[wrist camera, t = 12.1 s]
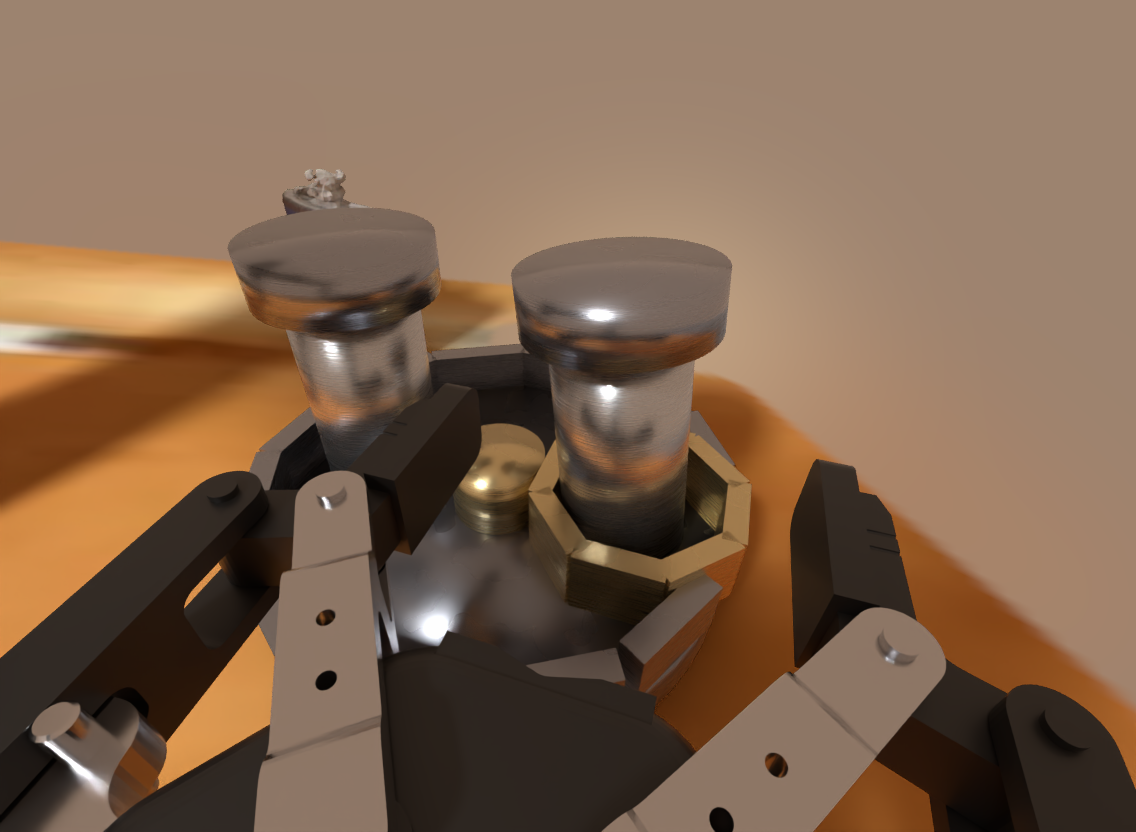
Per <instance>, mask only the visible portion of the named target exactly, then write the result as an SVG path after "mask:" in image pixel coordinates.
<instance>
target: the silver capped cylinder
mask: <svg viewBox="0 0 1136 832" xmlns="http://www.w3.org/2000/svg"><path fill="white" fill-rule="evenodd" d="M731 271H732V264H731V261H730V260H729V259H728V257H727V256H725V255H724V254H723V253H721V252H719V251H717V250H715V249H713V248H710V247H708V246H705V245H701V244H698V243H693V242H688V241H683V240H676V239H668V238H655V237H616V238H602V239H594V240H586V241H579V242H573V243H568V244H564V245H560V246H556V247H552V248H549V249H546V250H543V251H540V252H537V253H535V254H533V255H531V256H529V257H527V258H525V259H524V260H522V261H520V262H519V263H518V264H517V265H516V266H515V267H514V269H513V270H512V273H511V277H512V285H513V293H514V301H515V309H516V318H517V326H518V334H519V340H520V342H521V345H522V346H523V347H524V349H525V350H526V351H527V352H528V353H530V354H531V355H532V356H534V357H536V358H537V359H539V360H541V361H543V362H546V363H548V364H549V372H550V382H551V393H552V404H553V414H554V425H555V435H556V446H557V457H558V467H559V478H560V488H561V499H562V505H563V507H564V508H565V510H566V511H567V513H568V514H569V516H570V517H571V519H572V520H573V522H574V523H575V524H576V526H577V527H578V529H579V530H580V532H581V533H582V535H583V536H584V538H585V539H586V540H589V541H593V542H597V543H600V544H604V545H608V546H612V547H616V548H619V549H623V550H627V551H631V552H634V553H638V554H642V555H646V556H649V557H653V558H657V559H664V558H666V557H668V556H671V555H673V554H675V553H676V552H677V551H678V549H679V547H680V545H681V542H682V536H683V523H684V508H685V493H686V479H687V464H688V449H689V434H690V420H691V405H692V390H693V375H694V361H695V360H696V359H698V358H700V357H703V356H704V355H706V354H708V353H709V352H711V351H712V350H713V349H715V348H716V347H717V346H718V345H719V344H720V343H721V341H722V340H723V338H724V335H725V332H726V322H727V311H728V302H729V291H730V281H731Z"/></svg>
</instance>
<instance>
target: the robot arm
mask: <svg viewBox="0 0 1136 832" xmlns="http://www.w3.org/2000/svg"><path fill="white" fill-rule="evenodd" d="M481 443H482V432H481V420H480V409H479V397H478V392H477V390H476V389H474V388H469V387H465V386H460V385H455V384H450V383H446V384H444V385H443V386H442V387H441V388H440V389H439V390H438V391H437V392H436V393H435V394H434V396H433V397H432V398H431V399H430V400H429V399H425V398H423V399H421V400H419V401H417V402H415V403H414V404H412V405H410V406H408V407H406V408H405V409H404V410H403V411H402V412H401V413H400V414H399V415H398V416H397V417H396V418H395V419H394V420H393V423H390V425H389V426H388V427H387V428H386V429H385V430H384V431H383V434H380V435H379V436H378V437H377V438H376V439H375V440H374V441H373V442H372V443H371V444H370V445H369V447H368V448H367V449H366V450H365V451H364V452H363V453H362V454H361V455H360V456H359V457H358V458H357V459H356V460H355V461H354V462H353V463H352V464H351V465H350V466H349V468H348V469H347V470H346V471H333V472H328V473H324V474H322V475H319V476H317V477H315V478H313V479H311V480H310V481H308V482H307V483H306V484H305V485H304V486H303V487H302V488H301V489H300V490H264V488H263V486H262V483H261V481H260V479H259V478H258V477H257V476H256V475H255V474H253V473H250V472H246V471H232V472H226V473H222V474H219V475H216V476H214V477H211V478H209V479H208V480H206V481H204V482H202V483H201V484H200V485H198V486H197V487H196V488H195V489H193V490H192V491H191V492H190V493H189V494H188V495H187V496H185V497H184V498H183V499H182V500H181V501H180V502H179V503H177V504H176V505H175V506H174V507H173V508H172V509H171V510H169V511H168V512H167V513H166V514H165V515H164V516H162V517H161V518H160V519H159V520H158V521H157V522H156V523H154V524H153V525H152V526H151V527H150V528H149V529H148V530H146V531H145V532H144V533H143V534H142V535H141V536H140V537H138V538H137V539H136V540H135V541H134V542H133V543H132V544H130V545H129V546H128V547H127V548H126V549H125V550H124V551H122V552H121V553H120V554H119V555H118V556H117V557H116V558H114V559H113V560H112V561H111V562H110V563H109V564H108V565H106V566H105V567H104V568H103V569H102V570H101V571H100V572H98V573H97V574H96V575H95V576H94V577H93V578H92V579H90V580H89V581H88V582H87V583H86V584H85V585H84V586H82V587H81V588H80V589H79V590H78V591H77V592H76V593H74V594H73V595H72V596H71V597H70V598H69V599H68V600H66V601H65V602H64V603H63V604H62V605H61V606H60V607H58V608H57V609H56V610H55V611H54V612H53V613H52V614H50V615H49V616H48V617H47V618H46V619H45V620H44V621H42V622H41V623H40V624H39V625H38V626H37V627H36V628H34V629H33V630H32V631H31V632H30V633H29V634H28V635H26V636H25V637H24V638H23V639H22V640H21V641H20V642H18V643H17V644H16V645H15V646H14V647H13V648H12V649H10V650H9V651H8V652H7V653H6V654H5V655H4V656H2V657H1V658H0V832H813V831H814V830H815V829H816V828H817V827H818V825H819V824H820V823H821V822H822V821H823V819H824V818H825V817H826V816H827V815H828V814H829V812H830V811H831V810H832V809H833V808H834V806H835V805H836V804H837V803H838V802H839V801H840V799H841V798H842V797H843V796H844V795H845V793H846V792H847V791H848V790H849V789H850V787H851V786H852V785H853V784H854V783H855V782H856V780H857V779H858V778H859V777H860V776H861V774H862V773H863V772H864V771H865V770H866V768H867V767H868V766H869V765H870V764H871V763H872V761H873V760H874V759H875V760H877V761H878V762H880V763H881V764H883V765H884V766H886V767H888V768H889V769H891V770H892V771H894V772H895V773H897V774H899V775H900V776H902V777H903V778H905V779H906V780H908V781H910V782H911V783H913V784H914V785H916V786H917V787H919V788H921V789H922V790H924V791H925V792H927V793H928V794H929V797H930V804H931V811H932V818H933V825H934V832H1136V789H1135V787H1134V784H1133V782H1132V779H1131V777H1130V775H1129V772H1128V770H1127V767H1126V765H1125V762H1124V760H1123V758H1122V755H1121V753H1120V750H1119V748H1118V747H1117V745H1116V743H1115V741H1114V739H1113V738H1112V736H1111V735H1110V733H1109V732H1108V731H1107V730H1106V728H1105V727H1104V726H1103V725H1102V724H1101V723H1100V722H1099V721H1098V720H1097V719H1096V718H1095V717H1094V716H1093V715H1092V714H1091V713H1090V712H1089V711H1088V710H1086V709H1085V708H1084V707H1082V706H1081V705H1080V704H1078V703H1077V702H1076V701H1074V700H1072V699H1071V698H1069V697H1067V696H1066V695H1064V694H1061V693H1059V692H1057V691H1055V690H1052V689H1050V688H1047V687H1043V686H1039V685H1031V684H1029V685H1021V686H1017V687H1015V688H1014V689H1012V690H1011V691H1010V692H1009V693H1008V694H1007V693H1006V692H1004V691H1002V690H1000V689H998V688H996V687H994V686H992V685H990V684H988V683H987V682H985V681H983V680H981V679H979V678H977V677H975V676H973V675H971V674H969V673H968V672H966V671H964V670H962V669H960V668H959V667H957V666H955V665H954V664H953V663H951V662H950V661H948V660H947V659H946V658H945V655H944V653H943V650H942V648H941V646H940V645H939V643H938V641H937V640H936V639H935V638H934V636H933V635H932V634H931V633H930V632H929V631H928V630H927V629H926V628H925V627H924V626H922V625H921V624H920V623H919V622H917V620H916V616H915V612H914V608H913V604H912V600H911V595H910V591H909V587H908V583H907V579H906V575H905V571H904V566H903V562H902V558H901V556H899V554H900V550H899V546H898V541H897V540H896V539H895V537H896V533H895V529H894V525H893V521H892V517H891V514H890V513H889V512H888V510H887V509H886V508H885V506H884V505H883V504H882V502H881V501H880V500H879V499H878V497H877V496H876V495H872V494H867V493H862V492H860V491H859V486H858V481H857V475H856V470H855V468H854V467H853V466H848V465H843V464H838V463H833V462H829V461H824V460H819V459H816V460H815V461H814V463H813V465H812V467H811V469H810V472H809V474H808V477H807V479H806V482H805V484H804V487H803V489H802V492H801V494H800V497H799V499H798V502H797V504H796V507H795V510H794V513H793V517H792V522H791V530H790V545H791V574H792V603H793V632H794V661H795V667H797V668H800V669H799V670H798V671H796V672H795V673H794V674H792V673H791V672H787V673H785V674H783V675H782V676H781V677H779V678H778V679H777V680H776V681H775V682H774V683H773V684H771V685H770V686H769V687H768V688H767V689H766V690H765V691H764V692H763V693H761V694H760V695H759V696H758V697H757V698H756V699H755V700H754V701H753V702H752V703H750V704H749V705H748V706H747V707H746V708H745V709H744V710H743V711H742V712H741V713H739V714H738V715H737V716H736V717H735V718H734V719H733V720H732V721H731V722H729V723H728V724H727V725H726V726H725V727H724V728H723V729H722V730H721V731H720V732H718V733H717V734H716V735H715V736H714V737H713V738H712V739H711V740H710V741H709V742H707V743H706V744H705V745H704V746H703V747H702V748H701V749H700V750H699V751H697V752H696V751H695V750H694V748H693V747H692V746H691V745H690V743H689V742H688V741H687V740H686V739H685V738H684V737H683V736H682V735H681V734H680V733H679V732H678V731H677V730H676V729H675V728H674V727H672V726H671V725H670V724H669V723H667V722H666V721H665V720H664V719H662V718H660V717H659V716H657V715H656V714H654V710H655V704H656V698H657V696H654V695H651V694H647V693H644V692H641V691H638V690H635V689H632V688H628V687H625V686H622V685H619V684H616V683H612V682H609V681H606V680H603V679H589V678H570V677H550V676H543V675H540V674H539V673H537V672H535V671H534V670H532V669H531V668H529V667H527V666H526V665H524V664H523V663H521V662H520V661H518V660H517V659H515V658H514V657H512V656H511V655H509V654H507V653H506V652H504V651H503V650H501V649H500V648H498V647H497V646H495V645H492V644H489V643H485V642H482V641H479V640H476V639H473V638H470V637H466V636H463V635H460V634H457V633H454V632H450V631H447V632H446V634H445V636H444V638H443V639H442V641H441V643H440V645H439V646H425V647H417V648H412V649H408V650H404V651H401V652H400V651H399V646H398V641H397V636H396V629H395V620H394V612H393V604H392V596H391V587H390V579H389V571H388V565H387V560H388V558H389V557H390V556H391V554H392V553H393V551H398V552H401V553H405V554H408V555H412V554H413V552H414V551H415V549H416V548H417V546H418V545H419V543H420V542H421V540H422V539H423V537H424V536H425V535H426V533H427V532H428V530H429V529H430V527H431V526H432V524H433V523H434V521H435V520H436V518H437V517H438V515H439V514H440V512H441V511H442V509H443V508H444V507H445V505H446V504H447V502H448V501H449V499H450V498H451V496H452V495H453V493H454V492H455V490H456V489H457V487H458V486H459V484H460V483H461V481H462V480H463V479H464V477H465V476H466V474H467V473H468V471H469V470H470V468H471V467H472V465H473V464H474V462H475V461H476V459H477V457H478V455H479V452H480V448H481ZM218 562H219V564H220V566H221V568H222V569H221V570H220V571H219V572H218V573H217V574H216V575H215V576H214V577H213V578H212V579H211V580H210V581H209V583H208V584H207V585H206V586H205V587H204V588H203V589H202V590H201V591H200V592H199V593H198V594H197V595H196V597H195V598H194V599H193V600H192V601H191V602H190V603H189V604H188V605H187V606H186V607H185V608H184V605H185V602H186V599H187V597H188V596H189V594H190V593H191V591H192V590H193V589H194V588H195V587H196V586H197V585H198V584H199V582H200V581H201V580H202V579H203V578H204V577H205V576H206V575H207V574H208V573H209V572H210V571H211V570H212V569H213V568H214V567H215V566H216V564H217V563H218ZM278 599H279V607H278V621H277V635H276V649H275V664H274V678H273V692H272V706H271V721H270V725H268V726H266V727H265V728H263V729H261V730H259V731H258V732H256V733H254V734H253V735H251V736H249V737H247V738H246V739H244V740H242V741H241V742H239V743H237V744H235V745H234V746H232V747H230V748H229V749H227V750H225V751H223V752H222V753H220V754H218V755H217V756H215V757H213V758H211V759H210V760H208V761H206V762H205V763H203V764H201V765H199V766H198V767H196V768H194V769H193V770H191V771H189V772H187V773H186V774H184V775H182V776H181V777H179V778H177V779H175V780H174V781H172V782H170V783H169V784H167V785H165V786H163V787H162V788H160V789H158V786H159V780H158V776H159V774H160V772H161V770H162V768H163V765H164V762H165V759H166V753H167V748H166V742H167V741H168V739H169V738H170V737H171V736H172V734H173V733H174V732H175V731H176V729H177V728H178V727H179V725H180V724H181V723H182V722H183V720H184V719H185V718H186V716H187V715H188V714H189V713H190V711H191V710H192V709H193V707H194V706H195V705H196V704H197V702H198V701H199V700H200V698H201V697H202V696H203V695H204V693H205V692H206V691H207V690H208V688H209V687H210V686H211V684H212V683H213V682H214V681H215V679H216V678H217V677H218V675H219V674H220V673H221V672H222V670H223V669H224V668H225V666H226V665H227V664H228V663H229V661H230V660H231V659H232V657H233V656H234V655H235V654H236V652H237V651H238V650H239V649H240V647H241V646H242V645H243V643H244V642H245V641H246V640H247V638H248V637H249V636H250V634H251V633H252V632H253V631H254V629H255V628H256V627H257V625H258V624H259V623H260V622H261V620H262V619H263V618H264V616H265V615H266V614H267V613H268V611H269V610H270V609H271V608H272V606H273V605H274V604H275V602H276V601H277V600H278ZM157 789H158V790H157Z"/></svg>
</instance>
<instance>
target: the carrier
mask: <svg viewBox="0 0 1136 832" xmlns="http://www.w3.org/2000/svg"><path fill="white" fill-rule="evenodd" d="M228 251H229V254H230V257H231V260H232V263H233V265H234V268H235V271H236V274H237V277H238V279H239V282H240V285H241V288H242V291H243V293H244V296H245V299H246V302H247V305H248V307H249V310H250V312H251V313H252V315H253V316H254V317H256V318H257V319H258V320H260V321H262V322H263V323H265V324H268V325H271V326H273V327H277V328H281V329H285V330H286V333H287V336H288V339H289V342H290V345H291V348H292V351H293V354H294V357H295V361H296V364H297V367H298V370H299V373H300V376H301V379H302V382H303V385H304V389H305V392H306V395H307V398H308V401H309V404H310V407H309V408H308V409H307V410H306V411H305V412H303V413H302V414H301V415H300V416H298V417H297V418H296V419H295V420H294V421H292V422H291V423H290V424H289V425H288V426H286V427H285V428H284V429H283V430H281V431H280V432H279V433H278V434H277V435H275V436H274V437H273V438H272V439H270V440H269V441H268V442H267V443H266V444H264V445H263V446H262V447H261V448H260V449H259V450H260V452H256V455H255V458H254V460H253V463H252V466H251V468H250V471H249V472H250V473H253V474H255V475H256V476H257V477H258V478H259V479H260V481H261V483H262V486H263V488H264V490H300V489H301V488H302V487H303V486H304V485H305V484H306V483H307V482H308V481H310V480H311V479H313V478H315V477H317V476H319V475H322V474H324V473H328V472H333V471H346V470H347V469H348V468H349V466H350V465H351V464H352V463H353V462H354V461H355V460H356V459H357V458H358V457H359V456H360V455H361V454H362V453H363V452H364V451H365V450H366V449H367V448H368V447H369V445H370V444H371V443H372V442H373V441H374V440H375V439H376V438H377V437H378V436H379V435H380V434H383V431H384V430H385V429H386V428H387V427H388V426H389V425H390V423H393V420H394V419H395V418H396V417H397V416H398V415H399V414H400V413H401V412H402V411H403V410H404V409H405V408H406V407H408V406H410V405H412V404H414V403H415V402H417V401H419V400H421V399H423V398H425V399H429V400H430V399H431V398H432V397H433V396H434V394H435V393H436V392H437V391H438V390H439V389H440V388H441V387H442V386H443V385H444V384H446V383H450V384H455V385H460V386H465V387H469V388H474V389H476V390H477V392H478V397H479V409H480V420H481V432H482V443H481V448H480V452H479V455H478V457H477V459H476V461H475V462H474V464H473V465H472V467H471V468H470V470H469V471H468V473H467V474H466V476H465V477H464V479H463V480H462V481H461V483H460V484H459V486H458V487H457V489H456V490H455V492H454V493H453V495H452V496H451V498H450V499H449V501H448V502H447V504H446V505H445V507H444V508H443V509H442V511H441V512H440V514H439V515H438V517H437V518H436V520H435V521H434V523H433V524H432V526H431V527H430V529H429V530H428V532H427V533H426V535H425V536H424V537H423V539H422V540H421V542H420V543H419V545H418V546H417V548H416V549H415V551H414V552H413V554H412V555H408V554H405V553H401V552H398V551H393V553H392V554H391V556H390V557H389V558H388V560H387V565H388V571H389V579H390V587H391V596H392V604H393V612H394V620H395V629H396V636H397V641H398V646H399V651H400V652H401V651H404V650H408V649H412V648H417V647H425V646H439V645H440V643H441V641H442V639H443V638H444V636H445V634H446V632H447V631H450V632H454V633H457V634H460V635H463V636H466V637H470V638H473V639H476V640H479V641H482V642H485V643H489V644H492V645H495V646H497V647H498V648H500V649H501V650H503V651H504V652H506V653H507V654H509V655H511V656H512V657H514V658H515V659H517V660H518V661H520V662H521V663H523V664H524V665H526V666H527V667H529V668H531V669H532V670H534V671H535V672H537V673H539V674H540V675H543V676H550V677H570V678H589V679H603V680H606V681H609V682H612V683H616V684H619V685H622V686H625V687H628V688H632V689H635V690H638V691H641V692H644V693H647V694H651V695H654V696H657V698H656V704H655V706H656V705H657V704H658V703H659V702H660V701H661V700H662V699H663V698H664V697H665V696H667V695H668V694H669V692H670V691H671V690H672V689H673V687H674V686H675V685H676V684H677V682H678V681H679V680H680V679H681V677H682V676H683V675H684V674H685V673H686V671H687V670H688V669H689V667H690V665H691V664H692V662H693V660H694V658H695V657H696V655H697V653H698V651H699V650H700V648H701V646H702V644H703V642H704V640H705V637H706V634H707V632H708V629H709V627H710V626H711V623H712V620H713V617H714V614H715V611H716V608H717V605H718V602H719V601H720V600H722V599H724V598H726V597H728V596H729V595H730V593H731V592H732V589H733V587H734V584H735V581H736V578H737V575H738V572H739V569H740V566H741V564H742V561H743V558H744V555H745V552H746V549H747V546H748V536H749V519H750V503H751V487H752V484H749V483H750V481H749V480H748V479H747V478H746V477H745V476H744V475H743V474H742V473H740V472H739V471H738V470H737V469H736V468H735V464H734V462H733V461H732V459H731V458H730V456H729V455H728V453H727V452H726V451H725V449H724V448H723V446H722V445H721V443H720V442H719V440H718V439H717V438H716V436H715V435H714V433H713V432H712V430H711V429H710V427H709V426H708V425H707V423H706V422H705V420H704V419H703V417H702V416H701V414H700V413H699V412H698V411H691V420H690V434H689V449H688V464H687V479H686V493H685V508H684V523H683V536H682V542H681V545H680V547H679V549H678V551H677V552H676V553H675V554H673V555H671V556H668V557H666V558H664V559H657V558H653V557H649V556H646V555H642V554H638V553H634V552H631V551H627V550H623V549H619V548H616V547H612V546H608V545H604V544H600V543H597V542H593V541H589V540H586V539H585V538H584V536H583V535H582V533H581V532H580V530H579V529H578V527H577V526H576V524H575V523H574V522H573V520H572V519H571V517H570V516H569V514H568V513H567V511H566V510H565V508H564V507H563V505H562V499H561V488H560V478H559V467H558V457H557V446H556V435H555V425H554V414H553V404H552V393H551V382H550V372H549V364H548V363H546V362H543V361H541V360H539V359H537V358H536V357H534V356H532V355H531V354H530V353H528V352H527V351H526V350H525V349H524V347H523V346H522V345H521V344H513V345H500V346H488V347H476V348H464V349H452V350H440V351H432V354H430V353H429V352H427V347H426V341H425V334H424V327H423V321H422V314H421V309H423V308H425V307H426V306H427V305H429V304H430V303H431V302H432V301H433V300H434V299H435V298H436V297H437V296H438V294H439V292H440V290H441V277H440V269H439V261H438V253H437V244H436V236H435V230H434V227H433V226H432V224H431V223H429V222H428V221H427V220H425V219H423V218H421V217H419V216H417V215H414V214H410V213H406V212H402V211H396V210H390V209H381V208H332V209H321V210H313V211H306V212H300V213H295V214H290V215H286V216H281V217H277V218H274V219H270V220H267V221H264V222H261V223H258V224H256V225H253V226H251V227H249V228H247V229H245V230H243V231H242V232H240V233H239V234H237V235H236V236H235V237H234V238H233V239H232V240H231V241H230V243H229V245H228ZM278 607H279V599H278V600H277V601H276V602H275V604H274V605H273V606H272V608H271V609H270V610H269V611H268V613H267V614H266V615H265V616H264V618H263V619H262V620H261V622H260V623H259V626H260V628H261V630H262V632H263V634H264V636H265V638H266V640H267V642H268V644H269V646H270V648H271V650H272V652H273V654H274V656H275V649H276V635H277V621H278Z"/></svg>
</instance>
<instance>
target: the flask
mask: <svg viewBox="0 0 1136 832" xmlns="http://www.w3.org/2000/svg"><path fill="white" fill-rule="evenodd" d="M312 171H313V170H311V169H310V170H307V171H306V172H305V177H306V178H307V180H308V181H311V180H312V179H313V178H315V179H314V181H315V182H316V183H311V184H310V185H308V186H299V187H295V188H294V189H287V190H286V191H285V192H284V193H283V203H284V206H285V210H286V213H287V215H290V214H295V213H300V212H306V211H313V210H321V209H332V208H370V207H368V206H364V205H358V204H355V203H351V202H348V201H346V200H344V199H343V196H344V194H345V190H344V188H343V187H342V186H340V184H341V183H342V182H344V181H345V178H346V176H345V174H344V173H343V172H342V171H341V170H336V172H337V174H332V173H330V172H328V171H325V170H323V169H319V170H316V174H315V175H312Z"/></svg>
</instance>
